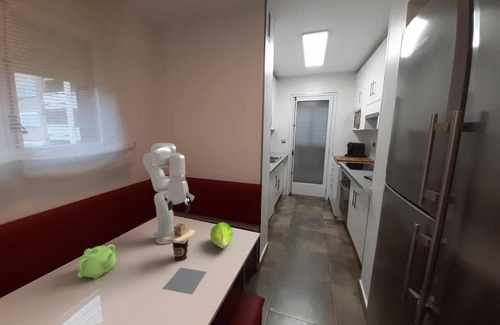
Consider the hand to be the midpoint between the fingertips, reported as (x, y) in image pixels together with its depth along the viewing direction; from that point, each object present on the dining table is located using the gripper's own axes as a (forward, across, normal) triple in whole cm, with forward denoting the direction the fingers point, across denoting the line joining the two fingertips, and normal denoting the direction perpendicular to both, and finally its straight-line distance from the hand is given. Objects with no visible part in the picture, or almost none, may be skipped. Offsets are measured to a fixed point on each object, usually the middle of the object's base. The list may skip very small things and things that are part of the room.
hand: (178, 210), depth 102 cm
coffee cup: (+27, 0, 0) cm, 27 cm away
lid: (+14, 0, 0) cm, 14 cm away
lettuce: (+27, +18, +17) cm, 36 cm away
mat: (+27, +12, -14) cm, 33 cm away
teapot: (+28, -32, -18) cm, 46 cm away
